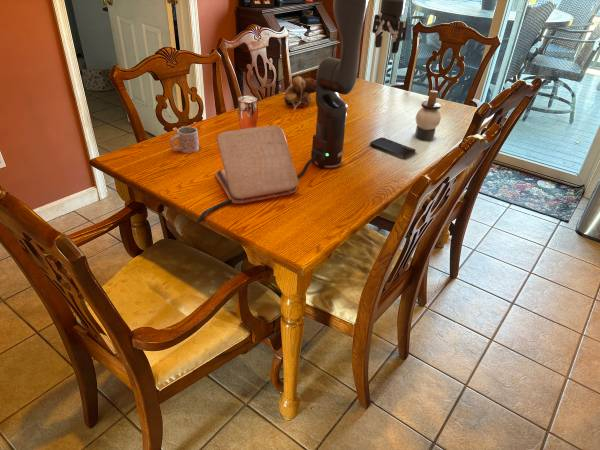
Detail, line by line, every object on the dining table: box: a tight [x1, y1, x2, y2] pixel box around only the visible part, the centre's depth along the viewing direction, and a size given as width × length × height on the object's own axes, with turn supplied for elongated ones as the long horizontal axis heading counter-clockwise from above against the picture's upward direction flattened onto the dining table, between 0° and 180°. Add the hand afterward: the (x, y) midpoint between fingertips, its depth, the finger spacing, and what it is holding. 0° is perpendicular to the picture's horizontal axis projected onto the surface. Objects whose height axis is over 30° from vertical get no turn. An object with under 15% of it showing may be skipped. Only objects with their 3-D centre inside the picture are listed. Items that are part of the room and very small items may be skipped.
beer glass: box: [237, 95, 259, 130], centre depth 157 cm, size 7×7×15 cm
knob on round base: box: [420, 89, 442, 111], centre depth 163 cm, size 7×7×6 cm
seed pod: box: [283, 75, 316, 111], centre depth 191 cm, size 13×16×15 cm
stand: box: [414, 124, 437, 142], centre depth 170 cm, size 7×7×4 cm
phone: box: [369, 137, 416, 160], centre depth 160 cm, size 8×1×15 cm
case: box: [215, 125, 299, 205], centre depth 130 cm, size 20×21×16 cm
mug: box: [169, 126, 200, 154], centre depth 150 cm, size 10×7×7 cm
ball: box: [415, 107, 442, 130], centre depth 167 cm, size 9×9×9 cm
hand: (385, 50), depth 157 cm, fingers open, 8 cm apart
